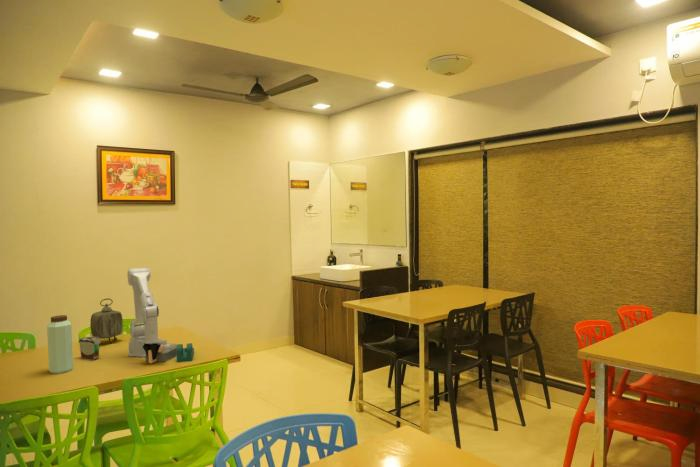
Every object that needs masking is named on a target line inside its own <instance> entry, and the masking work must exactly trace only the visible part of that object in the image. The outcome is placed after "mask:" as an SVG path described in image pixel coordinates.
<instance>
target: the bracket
mask: <svg viewBox="0 0 700 467" xmlns="http://www.w3.org/2000/svg"><path fill="white" fill-rule="evenodd" d="M176 344H177V356H176V362H177V363H185V362H187V363H188V362H192V361H193V358H194V355H195V348H194V347H193V343H189V342H188V343H187V344H186V347H184V345H183V344H182V343H180V344H178V343H176Z"/></svg>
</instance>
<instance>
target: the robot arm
mask: <svg viewBox="0 0 700 467" xmlns="http://www.w3.org/2000/svg"><path fill="white" fill-rule="evenodd" d="M126 275H127V283H128V285H129V286H131V287H132V290H133V301H134V302H133V303H134V315H135V318H134V319H133V320H132V321H131V322H130V324H129V333H130V336H131V337H130V338H129V340H128V357H139V358H142V357H144V358H146V354H147V357H148V360H149V356H148V350H151V351H152V359H153V360H155V359H156V357H157V353H158V350H159V348H160V346H161V345H165V344H167V343H168V342H167V341H168V340H167V339H161V338H159V332H158V331H159V329H158V317H159V315H160V312H159V311H160V309H159V306H158V304H157V303H156V302H155V298H154V295H153V293H151V292H150V288H149V281H150V279H151V269H150V268H149V267H148V266H147V267H136V268H129V269H128V270H127V273H126Z"/></svg>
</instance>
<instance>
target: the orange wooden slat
mask: <svg viewBox="0 0 700 467" xmlns="http://www.w3.org/2000/svg"><path fill="white" fill-rule="evenodd" d="M163 350H164V345H161V346H160V348H159V350H158V352H161V351H163ZM148 356H149V361H148V363H149V364H154V363H155V362H157V357H156V359H155V360H153V359H152V351H151V350H148Z"/></svg>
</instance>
